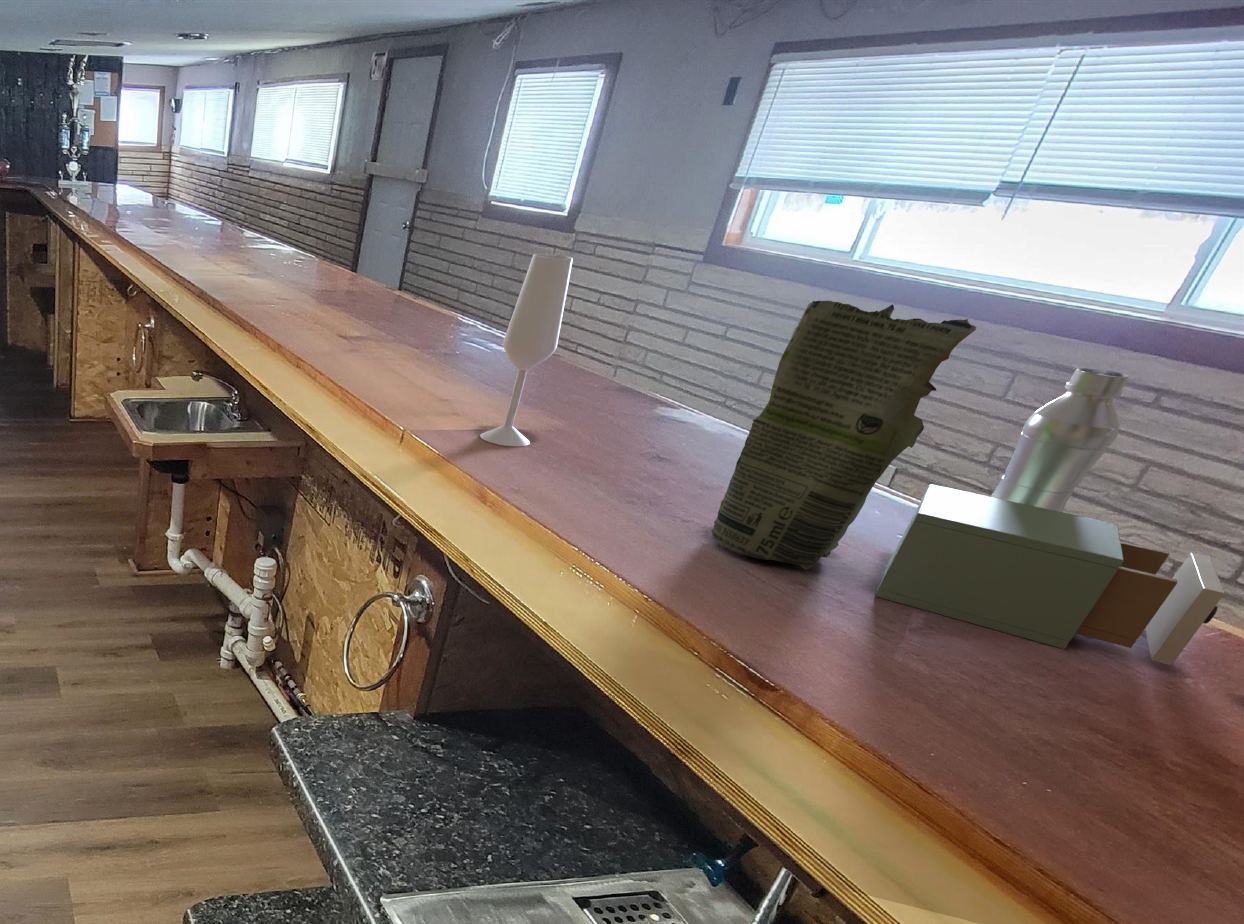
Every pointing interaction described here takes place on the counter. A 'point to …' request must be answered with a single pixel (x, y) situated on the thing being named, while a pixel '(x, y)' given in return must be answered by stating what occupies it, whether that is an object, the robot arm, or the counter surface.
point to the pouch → (830, 429)
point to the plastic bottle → (1063, 441)
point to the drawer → (1155, 602)
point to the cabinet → (1002, 564)
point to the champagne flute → (533, 331)
